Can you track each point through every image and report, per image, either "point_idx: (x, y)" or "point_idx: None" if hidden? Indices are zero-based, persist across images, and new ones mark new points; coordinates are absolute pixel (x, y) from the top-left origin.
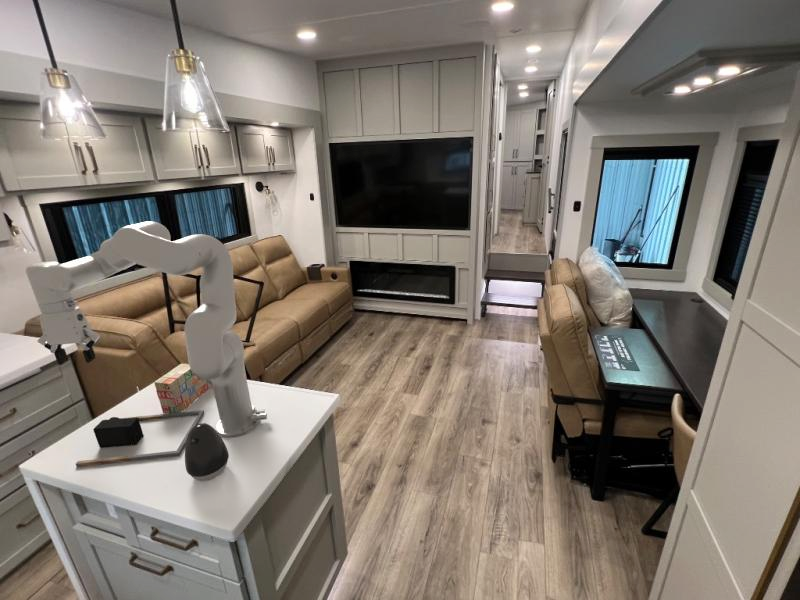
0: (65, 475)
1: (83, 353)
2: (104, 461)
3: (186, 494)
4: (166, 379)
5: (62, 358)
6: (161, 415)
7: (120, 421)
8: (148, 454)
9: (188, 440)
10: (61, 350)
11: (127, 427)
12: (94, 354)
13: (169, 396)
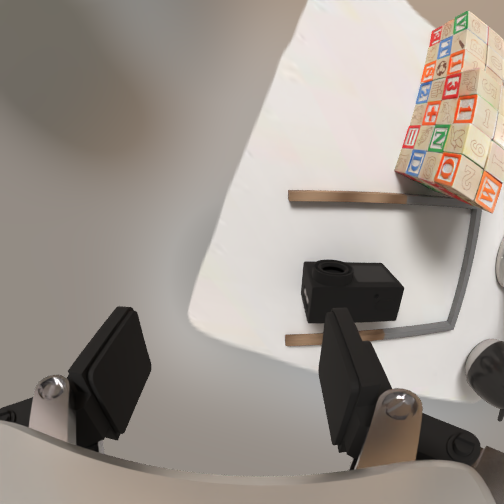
0: (276, 355)
1: (332, 431)
2: None
3: (453, 381)
4: (480, 180)
5: (133, 372)
6: (406, 201)
7: (366, 300)
8: (412, 332)
9: (497, 407)
10: (101, 402)
11: (388, 319)
12: (373, 352)
13: (454, 196)
